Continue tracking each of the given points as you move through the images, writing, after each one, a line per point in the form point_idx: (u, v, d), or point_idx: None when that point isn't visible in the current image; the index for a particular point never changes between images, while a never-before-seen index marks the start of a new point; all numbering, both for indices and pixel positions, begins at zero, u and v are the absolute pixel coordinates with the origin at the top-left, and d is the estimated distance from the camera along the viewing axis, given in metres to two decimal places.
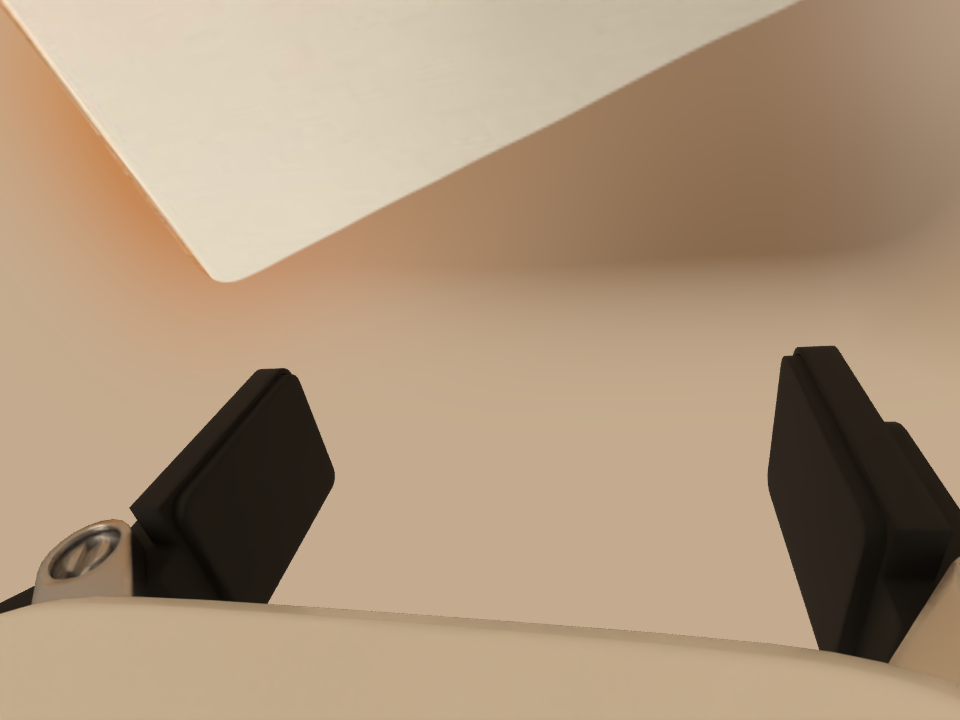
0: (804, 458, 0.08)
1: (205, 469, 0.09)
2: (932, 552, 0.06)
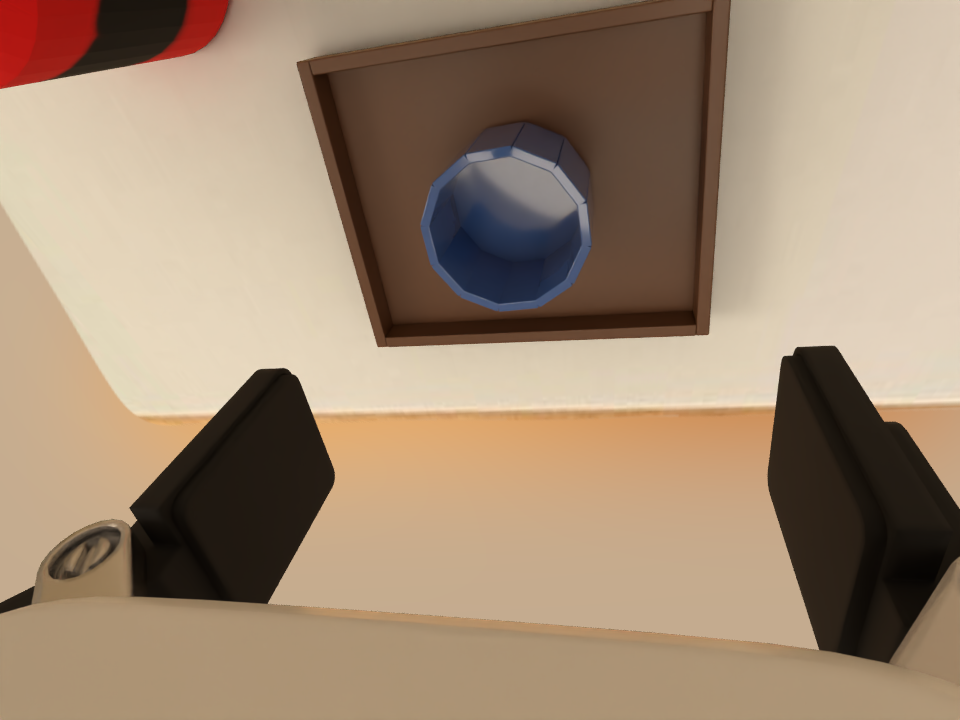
0: (804, 458, 0.08)
1: (205, 469, 0.09)
2: (932, 552, 0.06)
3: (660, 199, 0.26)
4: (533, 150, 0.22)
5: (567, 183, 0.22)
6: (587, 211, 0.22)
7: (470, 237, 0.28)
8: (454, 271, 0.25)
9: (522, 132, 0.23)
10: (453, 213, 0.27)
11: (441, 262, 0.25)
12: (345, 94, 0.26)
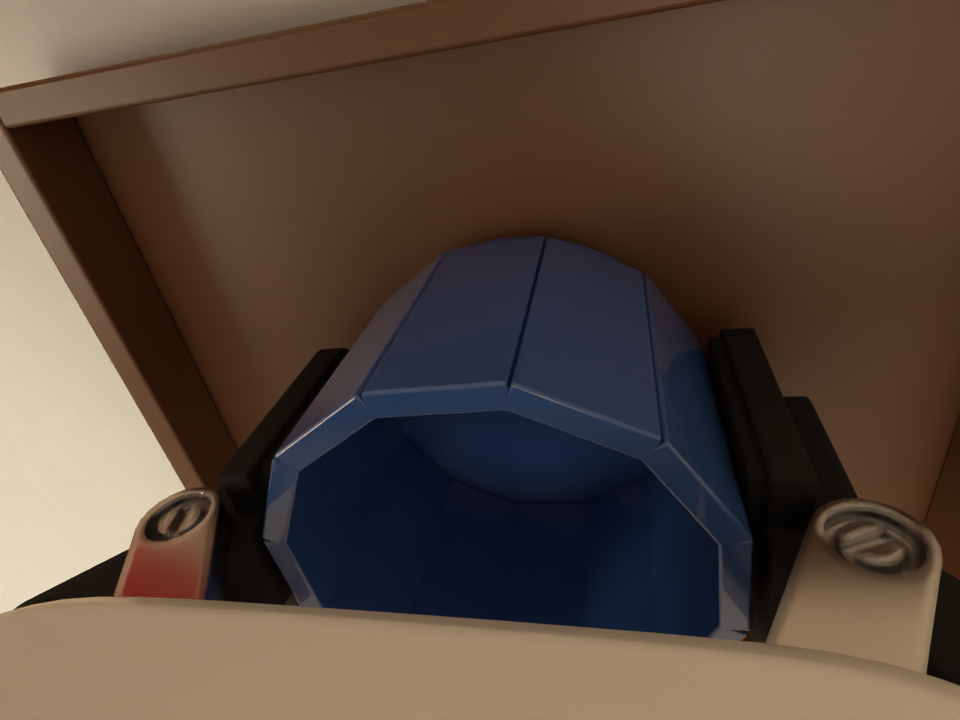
0: None
1: (284, 440, 0.09)
2: (804, 502, 0.07)
3: (864, 404, 0.11)
4: (580, 383, 0.07)
5: (693, 492, 0.07)
6: (749, 559, 0.07)
7: (425, 457, 0.13)
8: (372, 606, 0.10)
9: (540, 289, 0.08)
10: (382, 425, 0.12)
11: (333, 602, 0.10)
12: (126, 165, 0.11)
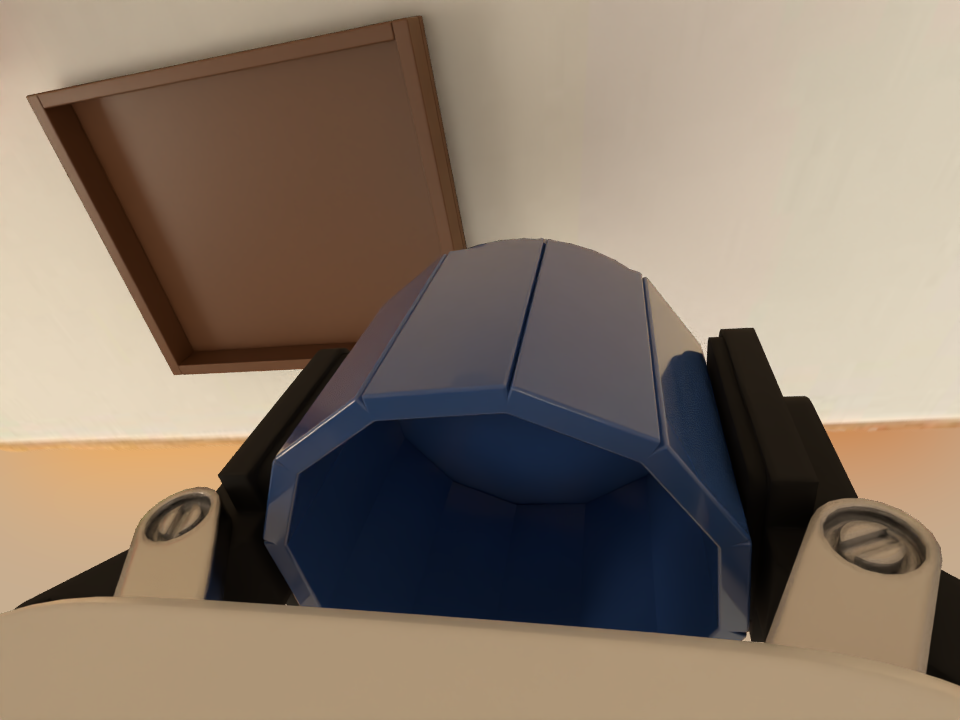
0: None
1: (284, 440, 0.09)
2: (804, 501, 0.07)
3: (411, 225, 0.26)
4: (580, 386, 0.07)
5: (693, 495, 0.07)
6: (748, 561, 0.07)
7: (425, 458, 0.13)
8: (372, 608, 0.10)
9: (540, 292, 0.08)
10: (382, 426, 0.12)
11: (333, 604, 0.10)
12: (94, 125, 0.26)
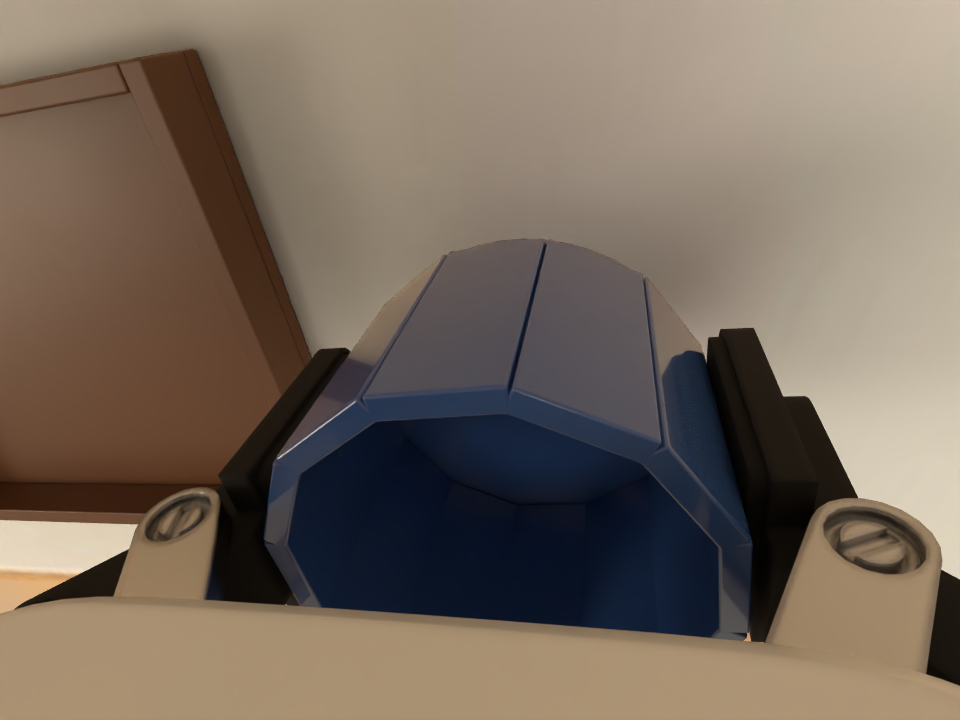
0: None
1: (284, 440, 0.09)
2: (804, 502, 0.07)
3: (232, 347, 0.18)
4: (580, 386, 0.07)
5: (693, 496, 0.07)
6: (749, 562, 0.07)
7: (425, 458, 0.13)
8: (373, 608, 0.10)
9: (541, 292, 0.08)
10: (383, 426, 0.12)
11: (334, 604, 0.10)
12: None
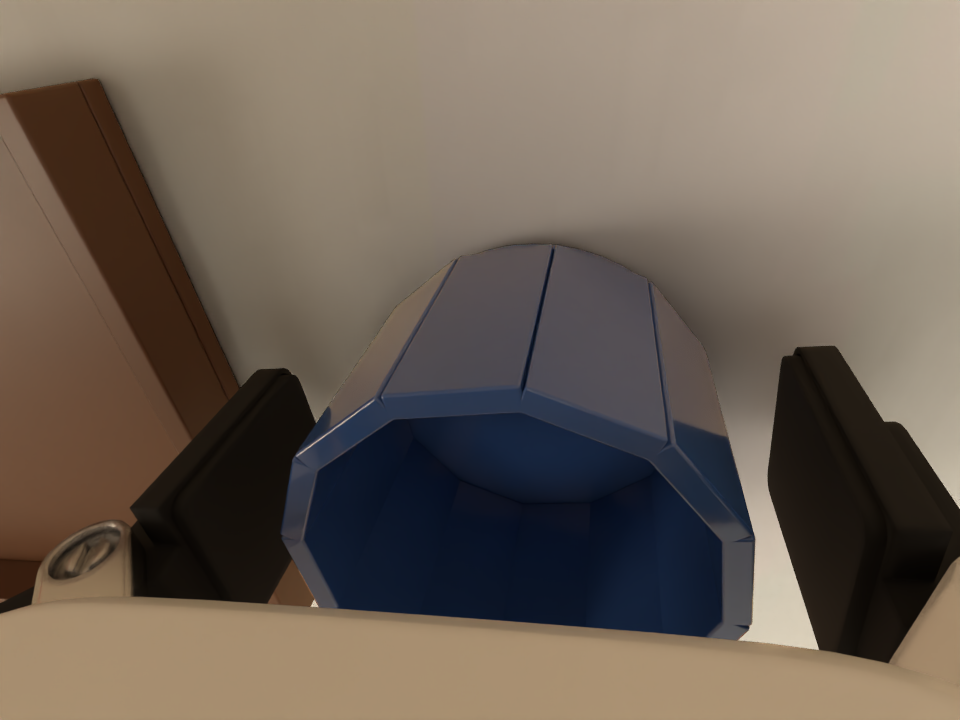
0: (804, 458, 0.08)
1: (205, 469, 0.09)
2: (932, 552, 0.06)
3: None
4: (590, 386, 0.07)
5: (698, 492, 0.07)
6: (751, 556, 0.07)
7: (433, 458, 0.13)
8: (384, 602, 0.10)
9: (550, 296, 0.08)
10: (393, 426, 0.12)
11: (347, 598, 0.10)
12: None
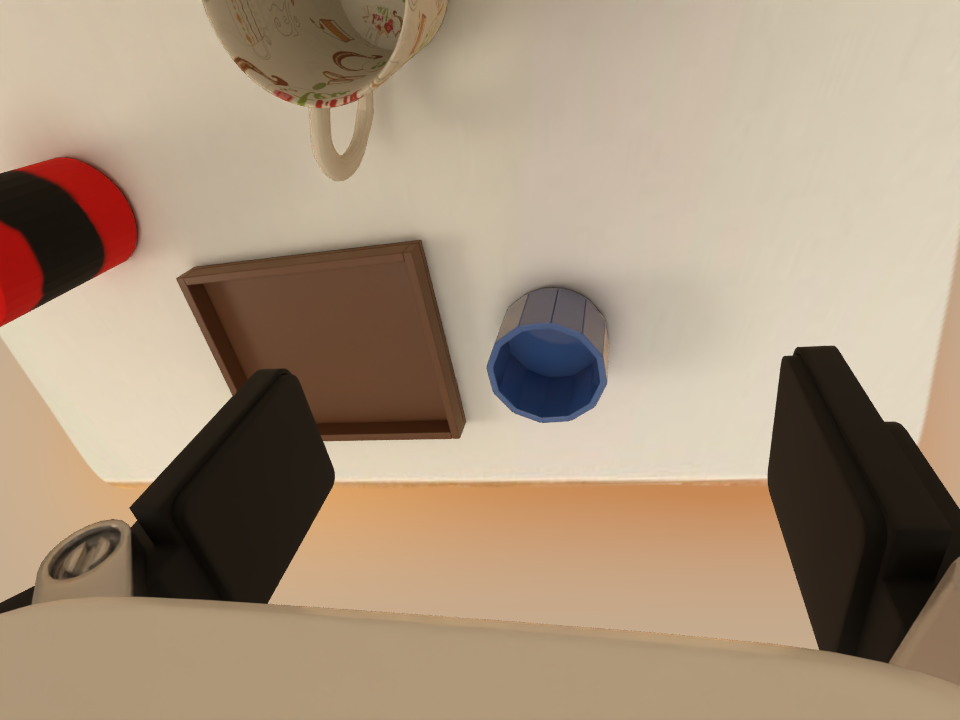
0: (804, 458, 0.08)
1: (205, 469, 0.09)
2: (932, 552, 0.06)
3: (416, 353, 0.40)
4: (565, 322, 0.32)
5: (589, 345, 0.32)
6: (603, 361, 0.32)
7: (517, 360, 0.38)
8: (509, 394, 0.35)
9: (557, 303, 0.33)
10: (506, 347, 0.37)
11: (500, 389, 0.35)
12: (213, 289, 0.41)
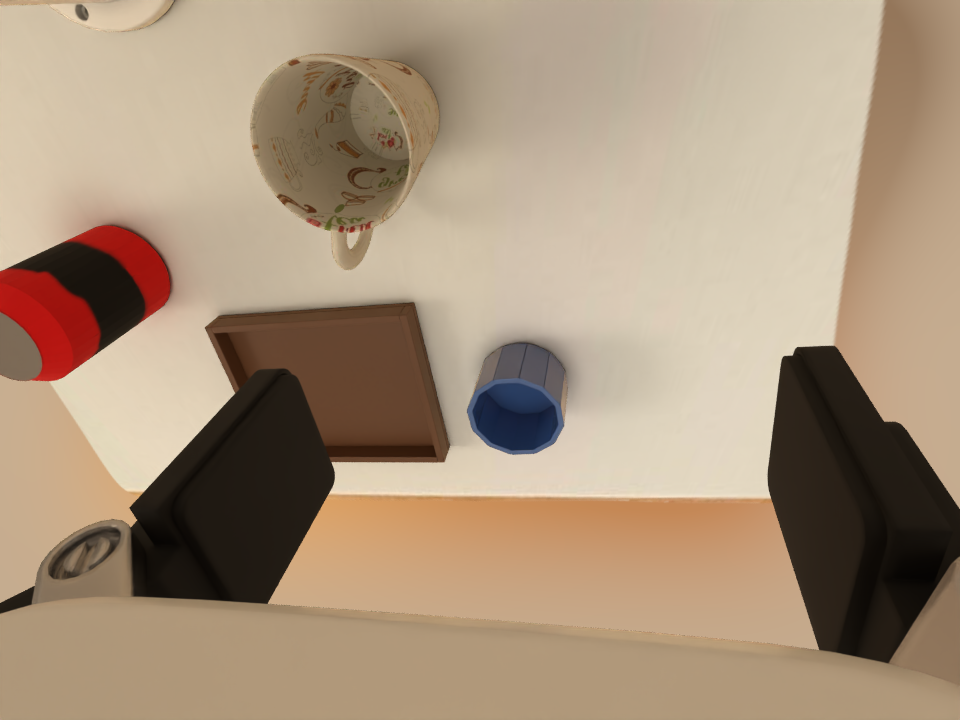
0: (804, 458, 0.08)
1: (205, 469, 0.09)
2: (932, 552, 0.06)
3: (408, 391, 0.47)
4: (530, 378, 0.40)
5: (549, 396, 0.39)
6: (561, 409, 0.40)
7: (493, 400, 0.46)
8: (485, 430, 0.43)
9: (524, 359, 0.41)
10: None
11: (478, 427, 0.42)
12: (235, 335, 0.48)
